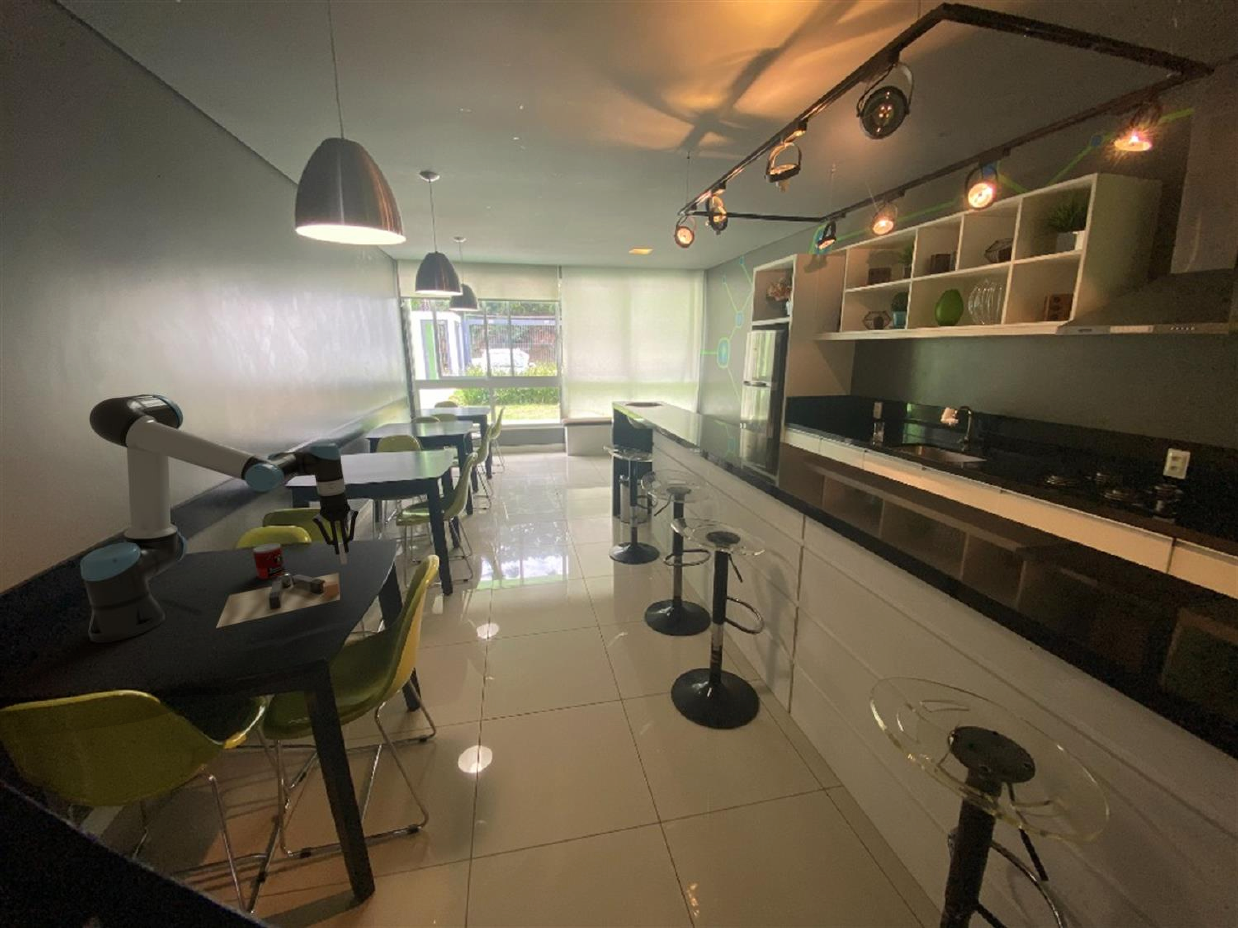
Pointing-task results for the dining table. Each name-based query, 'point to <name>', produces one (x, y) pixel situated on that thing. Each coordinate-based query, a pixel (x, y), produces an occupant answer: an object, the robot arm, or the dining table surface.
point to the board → (258, 603)
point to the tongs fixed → (279, 589)
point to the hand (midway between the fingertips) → (344, 562)
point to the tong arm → (308, 584)
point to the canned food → (268, 560)
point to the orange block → (331, 588)
